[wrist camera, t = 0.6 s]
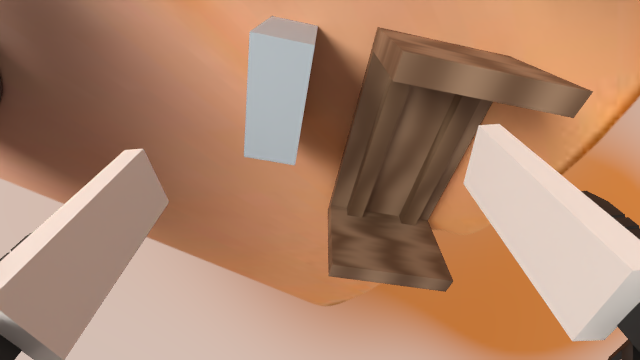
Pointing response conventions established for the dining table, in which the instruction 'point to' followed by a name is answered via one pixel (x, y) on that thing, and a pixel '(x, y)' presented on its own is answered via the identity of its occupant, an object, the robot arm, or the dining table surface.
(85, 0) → the dining table surface
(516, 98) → the track base
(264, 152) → the plain grey rectangular block
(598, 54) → the dining table surface
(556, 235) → the robot arm
